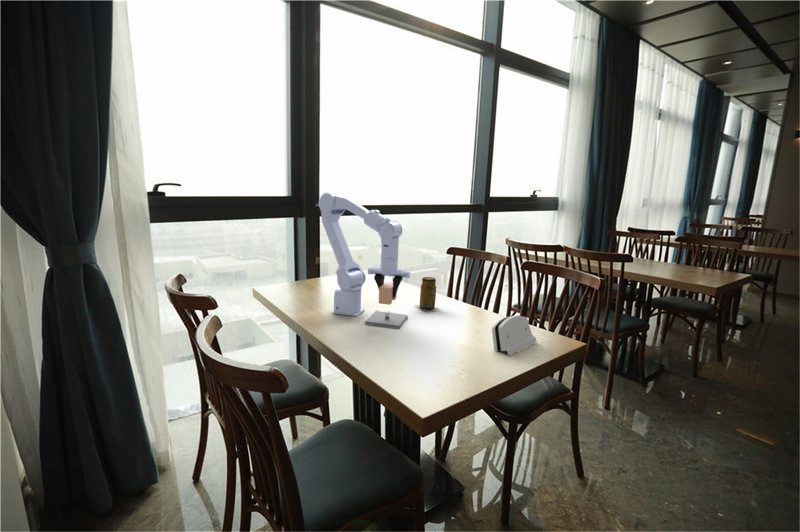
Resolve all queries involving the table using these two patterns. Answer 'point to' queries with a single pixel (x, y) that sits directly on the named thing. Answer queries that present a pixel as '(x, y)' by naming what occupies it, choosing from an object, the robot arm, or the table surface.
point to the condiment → (428, 295)
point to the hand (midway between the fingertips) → (387, 296)
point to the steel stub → (387, 314)
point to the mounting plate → (380, 320)
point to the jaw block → (386, 293)
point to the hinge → (512, 334)
